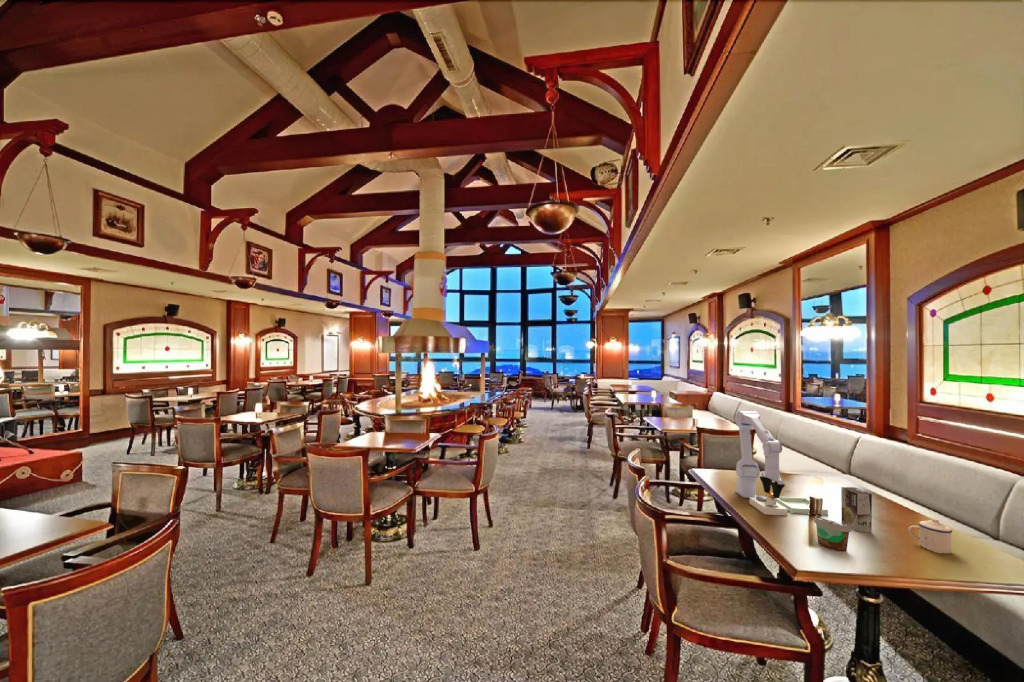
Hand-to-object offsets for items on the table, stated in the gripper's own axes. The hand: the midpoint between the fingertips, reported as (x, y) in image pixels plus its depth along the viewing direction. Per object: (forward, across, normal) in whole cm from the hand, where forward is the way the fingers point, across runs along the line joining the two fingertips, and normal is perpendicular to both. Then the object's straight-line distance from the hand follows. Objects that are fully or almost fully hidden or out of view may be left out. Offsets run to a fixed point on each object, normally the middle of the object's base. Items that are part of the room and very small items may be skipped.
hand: (771, 495), depth 195 cm
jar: (+8, 0, 0) cm, 8 cm away
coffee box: (+8, +14, +28) cm, 32 cm away
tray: (+8, -7, +17) cm, 20 cm away
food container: (+8, +35, +2) cm, 36 cm away
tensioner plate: (+8, -3, 0) cm, 8 cm away
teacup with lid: (+8, +31, +43) cm, 54 cm away
